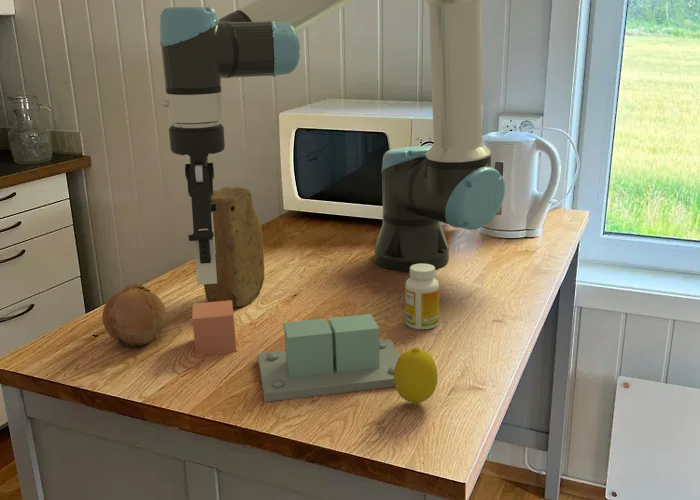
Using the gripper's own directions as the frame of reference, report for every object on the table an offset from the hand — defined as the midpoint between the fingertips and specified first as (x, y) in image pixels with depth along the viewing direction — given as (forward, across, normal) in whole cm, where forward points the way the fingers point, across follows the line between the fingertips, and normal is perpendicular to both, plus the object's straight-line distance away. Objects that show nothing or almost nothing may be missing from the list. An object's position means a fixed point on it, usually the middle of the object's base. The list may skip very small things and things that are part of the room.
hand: (207, 267), depth 105 cm
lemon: (+13, +24, +26) cm, 37 cm away
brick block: (+13, 0, 0) cm, 13 cm away
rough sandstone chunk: (+13, -18, +4) cm, 23 cm away
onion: (+13, -4, -12) cm, 18 cm away
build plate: (+12, +13, +16) cm, 24 cm away
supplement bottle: (+12, 0, +34) cm, 36 cm away
